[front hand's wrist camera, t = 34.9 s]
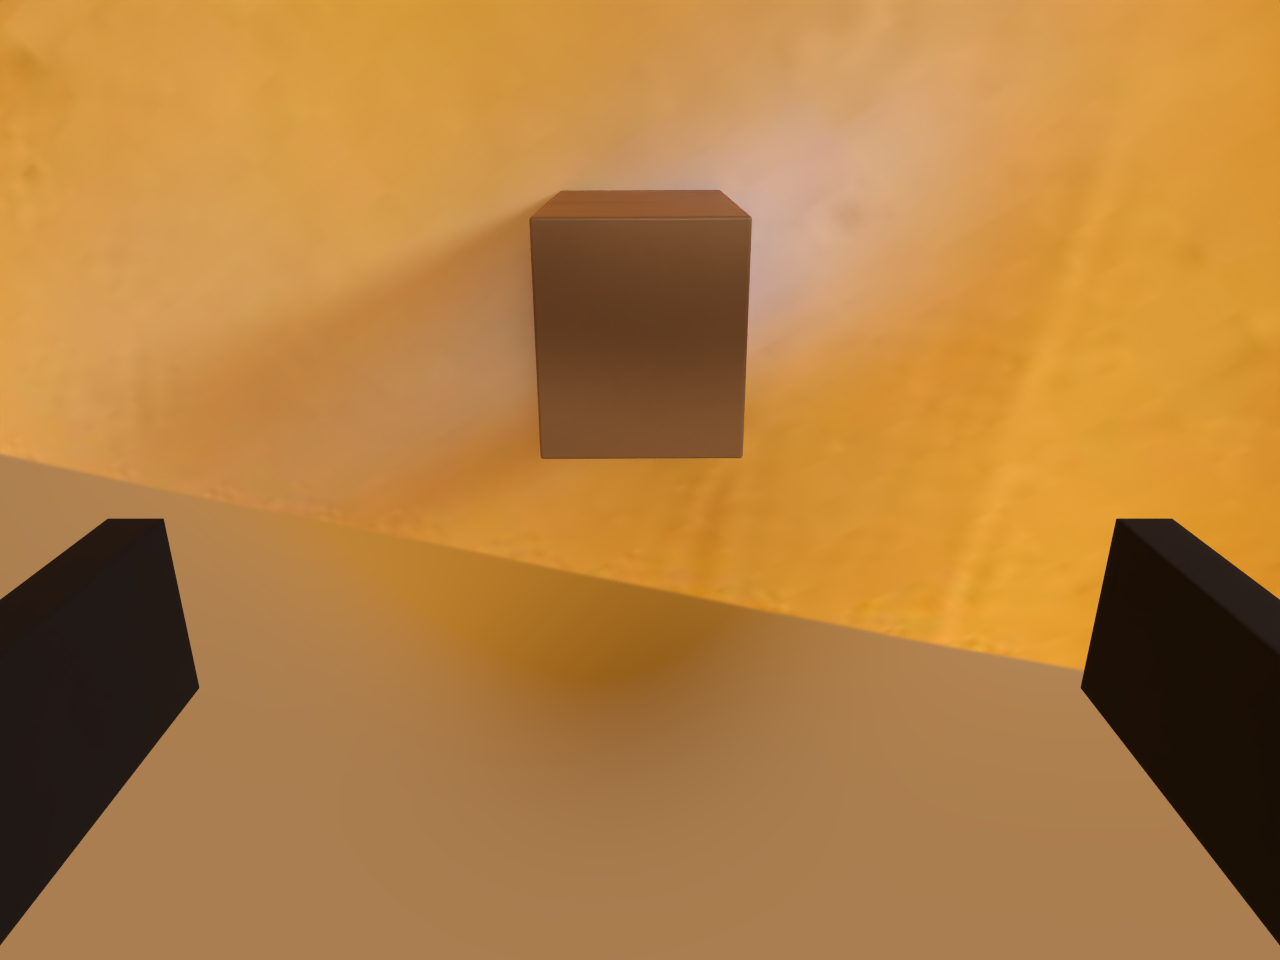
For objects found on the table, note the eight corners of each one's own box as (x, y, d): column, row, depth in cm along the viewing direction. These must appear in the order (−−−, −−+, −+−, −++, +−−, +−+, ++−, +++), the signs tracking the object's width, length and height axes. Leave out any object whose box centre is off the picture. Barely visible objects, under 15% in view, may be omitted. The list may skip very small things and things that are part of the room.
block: (716, 371, 40) (742, 458, 30) (566, 372, 40) (540, 459, 30) (721, 189, 37) (752, 216, 27) (559, 190, 37) (529, 217, 27)
